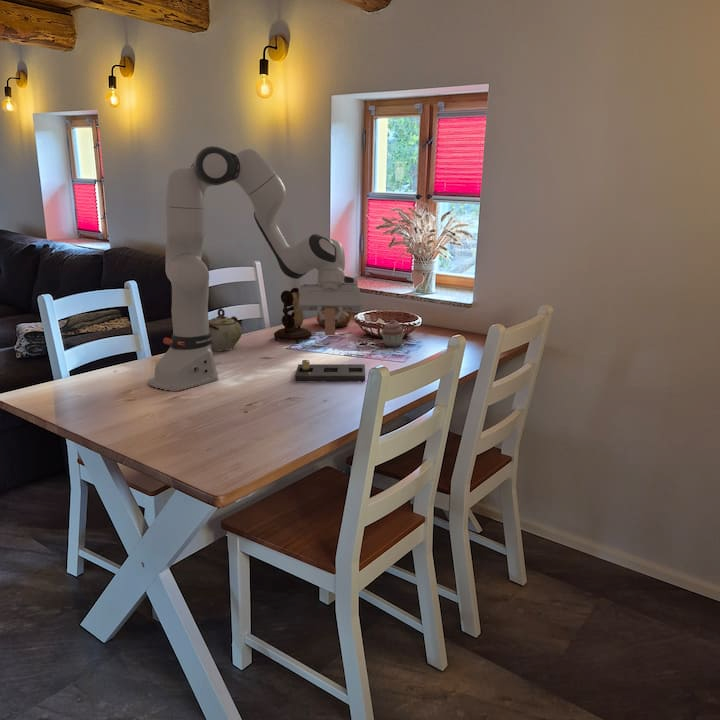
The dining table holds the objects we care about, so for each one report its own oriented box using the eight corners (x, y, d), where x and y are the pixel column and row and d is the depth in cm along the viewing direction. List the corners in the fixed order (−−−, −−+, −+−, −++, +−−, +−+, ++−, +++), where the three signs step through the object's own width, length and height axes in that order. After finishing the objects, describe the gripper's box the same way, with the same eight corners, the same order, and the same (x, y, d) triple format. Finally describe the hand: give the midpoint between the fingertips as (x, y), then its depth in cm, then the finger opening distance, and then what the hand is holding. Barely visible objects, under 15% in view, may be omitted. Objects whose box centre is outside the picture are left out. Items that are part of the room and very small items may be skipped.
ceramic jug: (307, 326, 266) (307, 293, 262) (327, 319, 278) (326, 288, 273) (342, 332, 257) (342, 298, 253) (361, 325, 269) (361, 292, 264)
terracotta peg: (325, 335, 195) (324, 310, 192) (325, 332, 198) (325, 308, 195) (334, 335, 195) (334, 310, 192) (334, 332, 198) (334, 308, 195)
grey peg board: (295, 381, 194) (294, 366, 193) (298, 370, 206) (298, 355, 204) (365, 381, 194) (365, 366, 193) (364, 370, 206) (364, 355, 205)
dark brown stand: (299, 345, 235) (298, 293, 230) (266, 341, 242) (264, 290, 236) (318, 337, 248) (317, 287, 243) (286, 333, 254) (285, 284, 249)
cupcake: (375, 345, 235) (376, 320, 232) (387, 340, 243) (388, 315, 240) (397, 349, 231) (398, 323, 228) (409, 343, 238) (409, 318, 235)
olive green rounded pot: (222, 339, 244) (219, 302, 239) (254, 344, 238) (252, 305, 233) (189, 352, 226) (186, 312, 222) (223, 357, 220) (220, 316, 216)
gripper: (298, 278, 198) (295, 315, 191) (362, 279, 198) (362, 315, 192) (299, 290, 204) (297, 325, 197) (361, 290, 204) (361, 326, 197)
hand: (329, 320), depth 194 cm, fingers closed on terracotta peg, 3 cm apart
